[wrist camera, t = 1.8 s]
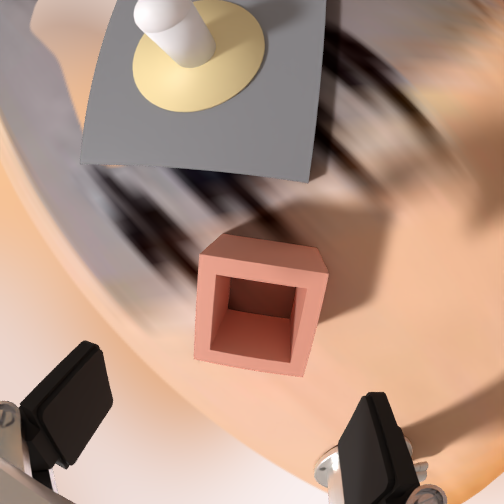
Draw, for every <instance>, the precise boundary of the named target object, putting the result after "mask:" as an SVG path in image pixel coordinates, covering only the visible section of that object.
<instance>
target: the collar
mask: <svg viewBox="0 0 504 504" xmlns="http://www.w3.org/2000/svg"><path fill="white" fill-rule="evenodd" d="M328 276H329V273H328V270H327V268H326V266H325V264H324V262H323V259H322V257H321V255H320V253H319V251H318V249H317V248H315V247H309V246H302V245H296V244H289V243H283V242H276V241H269V240H263V239H256V238H249V237H242V236H235V235H229V234H222V235H221V236H219V237H218V238H217V239H216V240H215V241H214V242H213V243H212V244H210V245H209V246H208V247H207V248H206V249H205V250H204V251H203V252H201V253H200V257H199V270H198V284H197V301H196V319H195V342H194V359H196V360H201V361H205V362H210V363H215V364H220V365H225V366H230V367H236V368H242V369H248V370H254V371H260V372H267V373H274V374H281V375H289V376H297V377H303V375H304V372H305V368H306V365H307V361H308V358H309V354H310V350H311V347H312V343H313V339H314V335H315V332H316V328H317V324H318V320H319V316H320V311H321V307H322V303H323V299H324V294H325V290H326V286H327V281H328ZM231 277H234V278H240V279H247V280H253V281H259V282H266V283H272V284H279V285H286V286H292V287H296V291H295V296H294V301H293V306H292V311H291V316H290V319H286V318H279V317H273V316H266V315H260V314H254V313H247V312H241V311H236V310H230V309H228V302H229V293H230V283H231Z"/></svg>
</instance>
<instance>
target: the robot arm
mask: <svg viewBox="0 0 504 504" xmlns="http://www.w3.org/2000/svg"><path fill="white" fill-rule="evenodd" d="M112 404H113V397H112V394H111V389H110V386H109V381H108V376H107V372H106V367H105V362H104V356H103V352H102V350H100V348H99V346H98V345H97V344H94V343H91V342H88V341H83V342H81V343H80V344H79V345H78V346H77V347H76V348H75V349H74V350H73V351H72V352H71V353H70V354H69V355H68V356H67V357H66V358H64V360H62V361H61V362H60V363H59V365H57V366H56V368H54V369H53V370H52V371H51V372H50V373H49V374H48V375H47V376H46V377H45V378H44V379H43V380H42V381H41V382H40V383H39V384H38V386H36V387H35V388H34V389H33V391H32V392H31V393H30V394H29V395H28V396H27V397H26V398H25V399H24V400H23V401H22V402H21V403H20V405H21V406H20V407H19V408H18V407H17V406H16V405H15V404H13V403H12V402H9V401H0V504H75V503H73V502H72V501H70V500H68V499H66V498H64V497H63V496H61V495H59V494H58V490H57V487H56V482H55V478H54V474H53V469H52V467H53V466H54V464H55V463H56V464H57V465H59V466H61V467H63V468H65V469H67V468H68V467H69V465H73V464H74V463H75V462H76V460H77V458H78V457H79V456H80V454H81V453H82V451H83V450H84V448H85V446H86V445H87V443H88V442H89V440H90V439H91V437H92V436H93V434H94V433H95V431H96V430H97V428H98V426H99V425H100V423H101V422H102V420H103V419H104V417H105V416H106V414H107V413H108V411H109V410H110V408H111V407H112ZM412 453H413V448H412V445H411V443H410V441H409V440H408V438H406V437H404V435H403V432H402V430H401V428H400V427H399V426H397V423H396V420H395V418H394V415H393V412H392V409H391V407H390V404H389V402H388V399H387V396H386V394H385V393H384V392H368V393H367V395H366V396H363V397H362V398H361V400H360V402H359V404H358V406H357V408H356V410H355V412H354V414H353V416H352V418H351V420H350V421H349V423H348V425H347V427H346V429H345V431H344V433H343V434H342V436H341V438H340V440H339V442H338V446H337V447H335V448H333V449H331V450H330V451H328V452H327V453H326V454H324V455H323V456H322V457H321V458H320V459H319V460H318V461H317V463H316V464H315V468H314V477H315V479H316V481H317V482H318V483H319V484H321V485H322V486H324V487H327V488H328V496H329V504H447V497H446V495H445V492H444V491H443V490H442V489H441V488H439V487H438V486H435V485H431V484H425V485H422V486H420V483H419V482H421V481H424V480H425V479H426V477H427V471H426V470H427V468H428V463H427V462H426V461H425V462H420V463H416V464H413V461H412V458H411V456H412Z"/></svg>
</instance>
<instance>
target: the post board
mask: <svg viewBox="0 0 504 504" xmlns="http://www.w3.org/2000/svg"><path fill="white" fill-rule="evenodd" d="M325 15H326V0H117V3H116V5H115V8H114V10H113V13H112V16H111V18H110V22H109V24H108V27H107V30H106V33H105V36H104V40H103V43H102V46H101V50H100V53H99V57H98V61H97V64H96V68H95V73H94V77H93V81H92V85H91V90H90V95H89V100H88V106H87V111H86V117H85V123H84V130H83V137H82V145H81V154H80V164H104V165H136V166H156V167H172V168H186V169H198V170H209V171H219V172H228V173H237V174H246V175H254V176H262V177H269V178H276V179H283V180H290V181H297V182H303V183H308V182H309V175H310V167H311V160H312V152H313V144H314V136H315V128H316V119H317V110H318V101H319V91H320V81H321V70H322V58H323V45H324V31H325Z"/></svg>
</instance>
